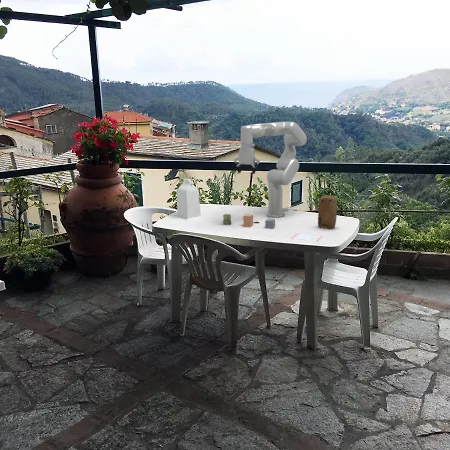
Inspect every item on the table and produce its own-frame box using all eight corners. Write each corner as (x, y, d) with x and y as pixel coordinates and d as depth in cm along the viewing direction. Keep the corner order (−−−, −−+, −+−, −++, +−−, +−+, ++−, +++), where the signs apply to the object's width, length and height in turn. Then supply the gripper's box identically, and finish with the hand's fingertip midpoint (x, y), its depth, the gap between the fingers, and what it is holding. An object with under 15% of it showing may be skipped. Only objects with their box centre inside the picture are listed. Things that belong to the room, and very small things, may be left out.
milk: (177, 216, 317) (175, 179, 310) (190, 213, 325) (188, 177, 318) (187, 219, 309) (185, 181, 302) (200, 215, 316) (199, 179, 309)
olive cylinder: (228, 222, 297) (227, 213, 295) (232, 224, 293) (232, 215, 291) (221, 223, 294) (221, 215, 292) (226, 225, 290) (226, 216, 288)
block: (337, 227, 280) (338, 195, 274) (333, 230, 273) (334, 197, 268) (320, 224, 285) (321, 193, 280) (316, 227, 279) (316, 196, 274)
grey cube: (267, 226, 286) (267, 218, 285) (275, 226, 285) (275, 219, 283) (265, 228, 282) (265, 220, 280) (273, 228, 280) (273, 221, 279)
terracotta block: (245, 224, 291) (245, 213, 290) (253, 224, 290) (253, 214, 288) (243, 226, 287) (243, 215, 285) (250, 227, 285) (250, 216, 283)
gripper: (261, 146, 281) (261, 173, 286) (236, 145, 289) (236, 171, 293) (257, 146, 275) (257, 174, 279) (231, 146, 282) (231, 173, 286)
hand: (246, 173), depth 286 cm, fingers open, 9 cm apart
